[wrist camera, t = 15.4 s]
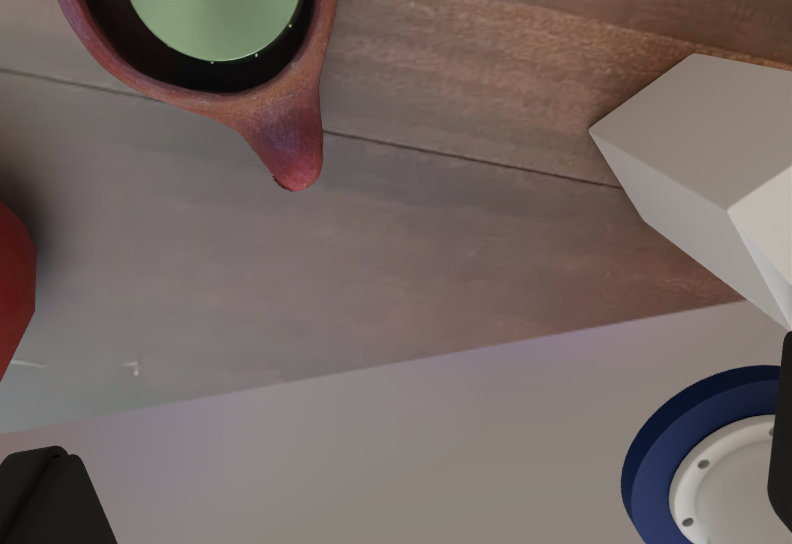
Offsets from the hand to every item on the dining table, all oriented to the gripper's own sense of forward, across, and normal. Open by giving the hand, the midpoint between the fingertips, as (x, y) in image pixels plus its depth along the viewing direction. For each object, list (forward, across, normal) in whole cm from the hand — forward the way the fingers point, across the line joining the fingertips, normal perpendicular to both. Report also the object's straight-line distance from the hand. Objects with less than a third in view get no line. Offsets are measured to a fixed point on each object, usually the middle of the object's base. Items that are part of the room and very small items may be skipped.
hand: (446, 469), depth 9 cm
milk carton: (+31, -18, +5) cm, 36 cm away
